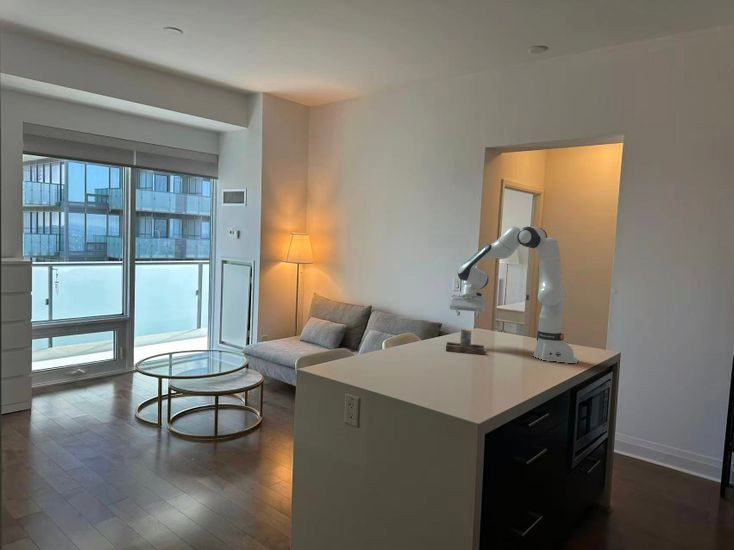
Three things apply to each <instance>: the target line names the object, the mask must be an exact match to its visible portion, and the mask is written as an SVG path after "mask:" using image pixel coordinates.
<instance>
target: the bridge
mask: <svg viewBox="0 0 734 550" xmlns="http://www.w3.org/2000/svg"><path fill="white" fill-rule="evenodd" d="M445 351H446V352H450V351H452V352H453V353H461V352H462V354H463V353H465V354H472V353H473V354H475V355H484V354H485V345H484V344H472V343H471V345H470V347H468V346H460V342H452V341H447V342H446V345H445ZM452 352H451V353H452Z"/></svg>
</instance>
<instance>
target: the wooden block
mask: <svg viewBox="0 0 734 550" xmlns="http://www.w3.org/2000/svg"><path fill="white" fill-rule="evenodd" d="M471 341H472V329H466V328H465V329H464V328H461V330H460V340H459V343H460V346H468V347H470V345H471V344H472V343H471Z"/></svg>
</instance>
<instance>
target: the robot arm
mask: <svg viewBox="0 0 734 550" xmlns="http://www.w3.org/2000/svg"><path fill="white" fill-rule="evenodd" d="M521 245H522V246H523V247H526V248H529V249H530V248H531V249H536V252H537V255H538V256H537V257H538V259H537V260H538V270H539V271H538V272H539V274H538V275H539V279H538V294H537V300H538V301H539V303H540V304H541V310H540V313H539V315H538V316H539V317H538V329H537V331H536V345H535V349H534V352H533V355H532V357H533V356H534V357H533V358H535V357H536V358H535V359H538V358H539V360H541V359H542V360H541V361H543V360H547V361H546V362H549V361H557V362H556V363H558V362H565V363H564V364H568V363H576V364H578V363H577V362H579V359H578V358H577V357H575V352H574V350H573V347H572V346H570V345H569V344H568V343H567V342H566V341H565V340H564V339H565V335H564V333H562V332H561V327H562V325H561V324H562V317H563V313H564V307H565V303H566V302H565V301H566V297H567V296H566V295H567V294H566V290H565V288H564V287H562V286H561V279H562V261H561V260H562V259H561V253H560V252H561V251H560V247H559V243H558V240H557V239H555V238H553V237H548V233H547V232H546V230H544V229H543V228H541V227H537V226H525V227H522V228H520V227H518V226H511V227H509V228H508V229H507V230H505V232H503V234H502V235H501V236H499V238H498V239H497V240H496V241H494V242H493V243H488V244H486V245H484V246H483V247H482V248H480V249H479V250H478V251H477V252H476V253H475V254H474V255H472V256H471V257H470V258H469V259H468V260H467V261H465V262H464V263H462V264H461V265H459V268H458V269H457V277H458V278H459V280H460V281H461V286H460V288H461V290H460V295H454V294H453V295H451V296H450V297H449V301H450V302H449V309H450V310H453V311H455V313H456V314H457V315H456V316H459V317H460V315H461V312H460V311H463V312H464V311H466V312H474V315H473V317H474V318H478V314H479V313H485V312H486V307H487V306H486V305H487V303H486V299H485V295H484V293H482V292H478V291H479V290H482V289H484V288H486V287H487V285H488V284H489V274H488V273H486V272H485V271H483V270H482V269H479V268H477V267H476V266H478V265H479V264H480V263H481V262H482V261H483V260H485V259H489V258H490V259H498V260H504V259H509V257H511V256H512V255H513V254H514V252H515V251H517V249H518V247H520V246H521Z"/></svg>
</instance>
